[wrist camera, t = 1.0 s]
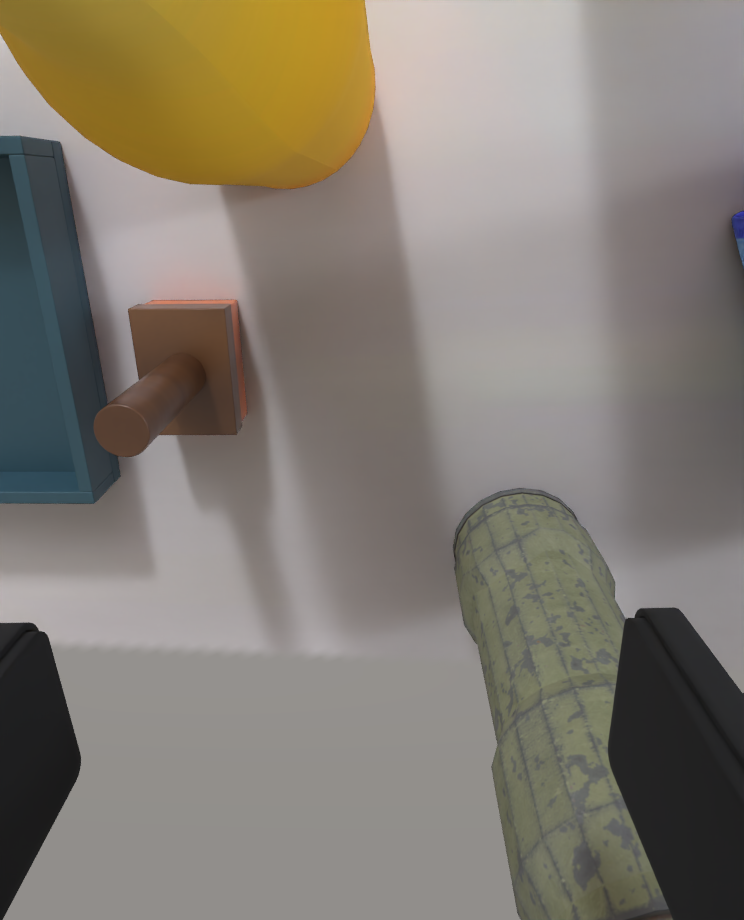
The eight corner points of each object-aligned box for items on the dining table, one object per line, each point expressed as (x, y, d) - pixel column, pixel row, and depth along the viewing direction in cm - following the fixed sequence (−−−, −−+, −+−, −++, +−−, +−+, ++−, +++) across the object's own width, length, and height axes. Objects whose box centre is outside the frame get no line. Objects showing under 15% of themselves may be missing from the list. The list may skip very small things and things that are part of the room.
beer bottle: (323, -59, 30) (-184, -2061, 3) (405, 137, 33) (480, -84, 6) (161, 42, 32) (-1025, -741, 5) (253, 219, 35) (-178, 310, 8)
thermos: (438, 610, 45) (566, 1671, 13) (467, 459, 40) (787, 1524, 8) (560, 624, 45) (990, 1699, 13) (603, 475, 41) (1440, 1574, 8)
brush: (150, 298, 37) (42, 347, 25) (238, 297, 37) (170, 346, 25) (166, 415, 40) (76, 507, 28) (249, 415, 39) (192, 507, 28)
